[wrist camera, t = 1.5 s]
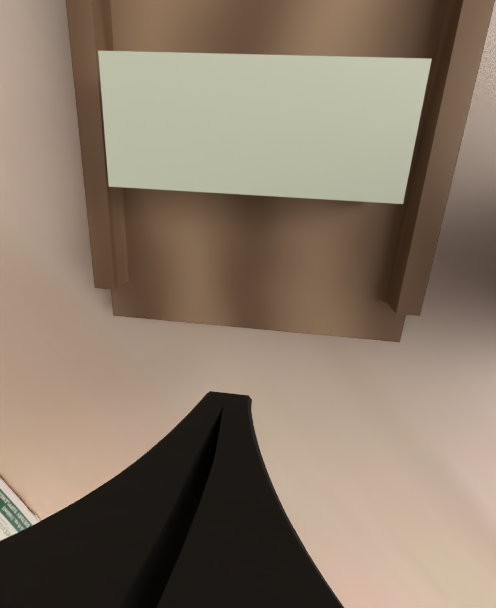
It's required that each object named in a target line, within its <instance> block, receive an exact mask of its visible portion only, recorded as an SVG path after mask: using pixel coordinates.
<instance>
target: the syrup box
mask: <svg viewBox="0 0 496 608" xmlns="http://www.w3.org/2000/svg"><path fill="white" fill-rule="evenodd" d="M39 521H40V519H39V518H38V517H37V515H35V514H33V513H32V512H31V511H30V510H29V509H28V508H27V507H26V506H25V505H24V503H23V502H22V501H21V500H20V499H19V498H18V497H17V495H16V494H15V493H14V492H13V491H12V490H11V489H10V487H9V486H8V485H7V484H6V483H5V482H4V481H3V479H2V478H1V477H0V541H1V540H3V539H5V538H7V537H9V536H12V535H14V534H16V533H18V532H20V531H22V530H24V529H26V528H28V527H30V526H32V525H34V524H36V523H38V522H39Z"/></svg>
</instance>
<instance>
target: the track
mask: <svg viewBox="0 0 496 608" xmlns="http://www.w3.org/2000/svg"><path fill="white" fill-rule="evenodd" d="M494 3H495V0H66V6H67V16H68V26H69V36H70V46H71V56H72V66H73V76H74V85H75V95H76V105H77V115H78V125H79V135H80V145H81V155H82V165H83V175H84V185H85V195H86V205H87V214H88V224H89V234H90V244H91V254H92V264H93V274H94V284H95V288H104V289H111V294H112V306H113V315H114V316H124V317H135V318H146V319H157V320H167V321H178V322H189V323H200V324H210V325H221V326H232V327H243V328H253V329H264V330H275V331H286V332H296V333H307V334H318V335H329V336H339V337H350V338H361V339H372V340H382V341H393V342H400V339H401V334H402V330H403V325H404V321H405V316H406V315H417V316H420V312H421V308H422V304H423V300H424V295H425V291H426V287H427V283H428V279H429V274H430V270H431V266H432V262H433V258H434V254H435V249H436V245H437V241H438V237H439V233H440V228H441V224H442V220H443V216H444V212H445V207H446V203H447V199H448V195H449V191H450V187H451V182H452V178H453V174H454V170H455V166H456V161H457V157H458V153H459V149H460V145H461V141H462V136H463V132H464V128H465V124H466V120H467V115H468V111H469V107H470V103H471V99H472V95H473V90H474V86H475V82H476V78H477V74H478V69H479V65H480V61H481V57H482V53H483V49H484V44H485V40H486V36H487V32H488V28H489V23H490V19H491V15H492V11H493V7H494ZM98 51H134V52H176V53H218V54H259V55H301V56H343V57H384V58H426V59H432V60H431V65H430V70H429V75H428V80H427V85H426V90H425V96H424V101H423V106H422V111H421V116H420V121H419V126H418V131H417V136H416V141H415V146H414V151H413V156H412V161H411V166H410V171H409V176H408V181H407V186H406V191H405V196H404V202H403V204H394V203H377V202H360V201H344V200H327V199H310V198H293V197H276V196H259V195H243V194H226V193H209V192H192V191H175V190H159V189H142V188H125V187H109V183H108V171H107V158H106V145H105V132H104V119H103V107H102V94H101V81H100V68H99V56H98Z"/></svg>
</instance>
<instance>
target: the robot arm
mask: <svg viewBox="0 0 496 608" xmlns="http://www.w3.org/2000/svg"><path fill="white" fill-rule="evenodd" d="M251 403H252V399H251V398H250V397H249V396H247V395H238V394H229V393H220V392H211V391H210V392H209V393H207V394H206V395H205V396H204V397H203V399H202V400H201V401H200V402H199V403H198V404H197V405H196V406H195V407H194V409H193V410H192V411H191V412H190V413H189V414H188V415H187V416H186V417H185V418H184V419H183V420H182V421H181V422H180V423H179V424H178V425H177V426H176V427H175V428H174V429H173V430H172V431H171V432H170V433H169V434H168V435H166V436H165V437H164V438H163V439H162V440H161V441H160V442H158V443H157V444H156V445H155V446H154V447H153V448H152V449H150V450H149V451H148V452H147V453H146V454H144V455H143V456H142V457H141V458H140V459H138V460H137V461H136V462H134V463H133V464H132V465H130V466H129V467H128V468H126V469H125V470H124V471H122V472H121V473H120V474H118V475H117V476H115V477H114V478H112V479H111V480H109V481H108V482H106V483H105V484H103V485H102V486H100V487H99V488H97V489H96V490H94V491H92V492H91V493H89V494H88V495H86V496H85V497H83V498H81V499H80V500H78V501H76V502H75V503H73V504H71V505H69V506H67V507H66V508H64V509H62V510H60V511H59V512H57V513H55V514H53V515H51V516H49V517H47V518H46V519H44V520H42V521H40V522H38V523H36V524H34V525H32V526H30V527H28V528H26V529H24V530H22V531H20V532H18V533H16V534H14V535H12V536H9V537H7V538H5V539H3V540H1V541H0V608H344V607H343V605H342V604H341V603H340V601H339V600H338V598H337V597H336V595H335V594H334V592H333V591H332V590H331V588H330V587H329V585H328V584H327V582H326V581H325V579H324V578H323V576H322V575H321V573H320V571H319V570H318V568H317V567H316V565H315V564H314V562H313V560H312V559H311V557H310V556H309V554H308V552H307V551H306V549H305V547H304V545H303V544H302V542H301V540H300V538H299V536H298V535H297V533H296V531H295V529H294V528H293V526H292V524H291V522H290V520H289V519H288V517H287V515H286V513H285V511H284V509H283V507H282V504H281V502H280V500H279V498H278V496H277V494H276V492H275V489H274V487H273V485H272V482H271V480H270V477H269V475H268V472H267V470H266V467H265V464H264V461H263V458H262V455H261V452H260V449H259V446H258V442H257V438H256V434H255V430H254V426H253V420H252V413H251Z"/></svg>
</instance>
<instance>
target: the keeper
mask: <svg viewBox="0 0 496 608" xmlns="http://www.w3.org/2000/svg"><path fill="white" fill-rule="evenodd" d="M98 56H99V68H100V81H101V94H102V107H103V119H104V132H105V145H106V158H107V171H108V183H109V187H125V188H142V189H159V190H175V191H192V192H209V193H226V194H243V195H259V196H276V197H293V198H310V199H327V200H344V201H360V202H377V203H394V204H403V202H404V196H405V191H406V186H407V181H408V176H409V171H410V166H411V161H412V156H413V151H414V146H415V141H416V136H417V131H418V126H419V121H420V116H421V111H422V106H423V101H424V96H425V90H426V85H427V80H428V75H429V70H430V65H431V60H432V59H426V58H384V57H343V56H301V55H259V54H218V53H176V52H134V51H98Z"/></svg>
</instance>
